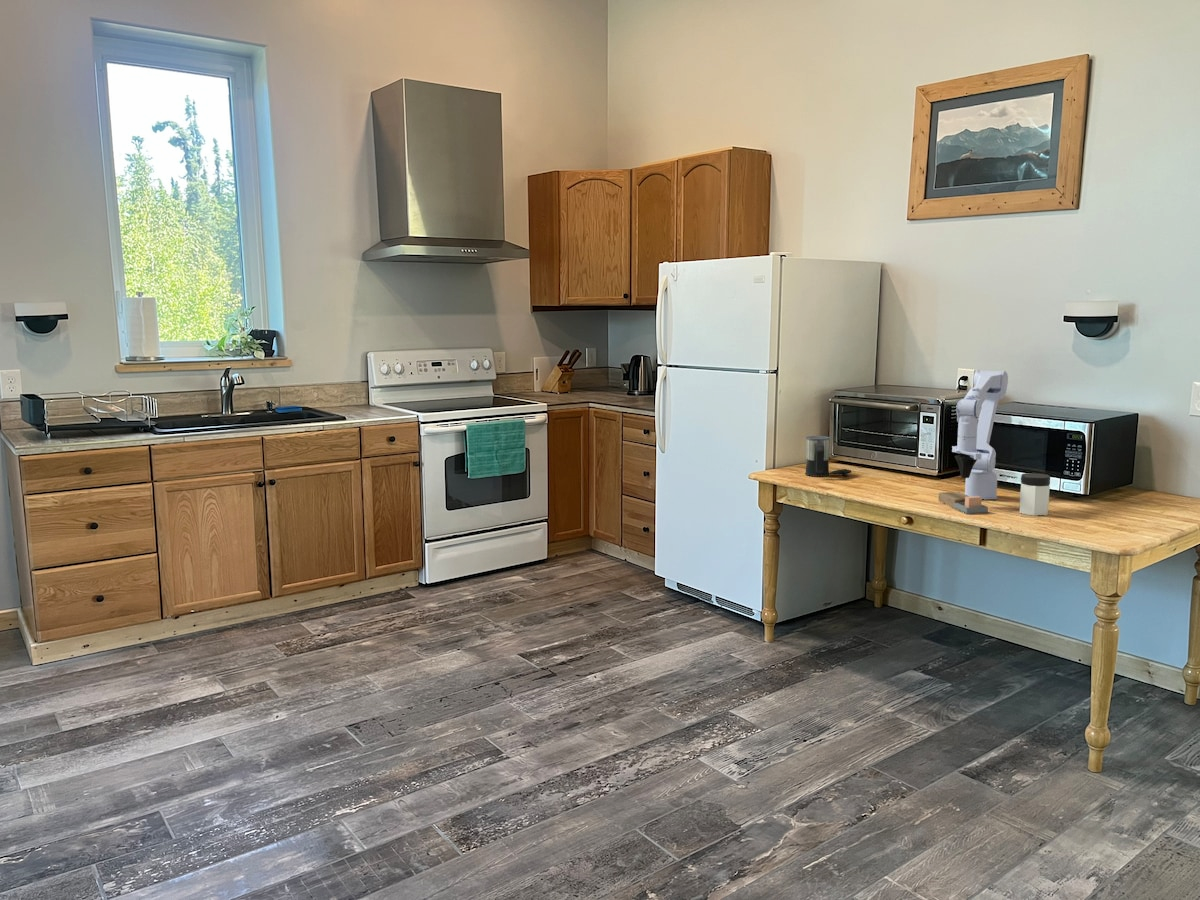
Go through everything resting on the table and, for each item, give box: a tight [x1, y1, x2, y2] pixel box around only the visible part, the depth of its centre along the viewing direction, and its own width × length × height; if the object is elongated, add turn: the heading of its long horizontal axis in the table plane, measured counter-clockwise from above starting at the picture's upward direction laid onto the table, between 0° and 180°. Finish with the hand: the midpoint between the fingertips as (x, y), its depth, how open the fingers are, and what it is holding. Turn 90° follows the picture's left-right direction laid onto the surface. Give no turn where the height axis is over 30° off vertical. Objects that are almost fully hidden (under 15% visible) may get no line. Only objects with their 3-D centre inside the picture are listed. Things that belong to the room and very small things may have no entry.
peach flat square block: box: [965, 496, 982, 507], centre depth 274 cm, size 4×4×2 cm
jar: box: [1018, 472, 1051, 517], centre depth 271 cm, size 9×8×12 cm
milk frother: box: [804, 435, 852, 477], centre depth 334 cm, size 14×16×15 cm
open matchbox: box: [938, 491, 969, 509], centre depth 284 cm, size 7×10×3 cm, turn 6°
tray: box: [953, 502, 989, 515], centre depth 275 cm, size 7×8×2 cm
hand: (965, 477), depth 281 cm, fingers closed
